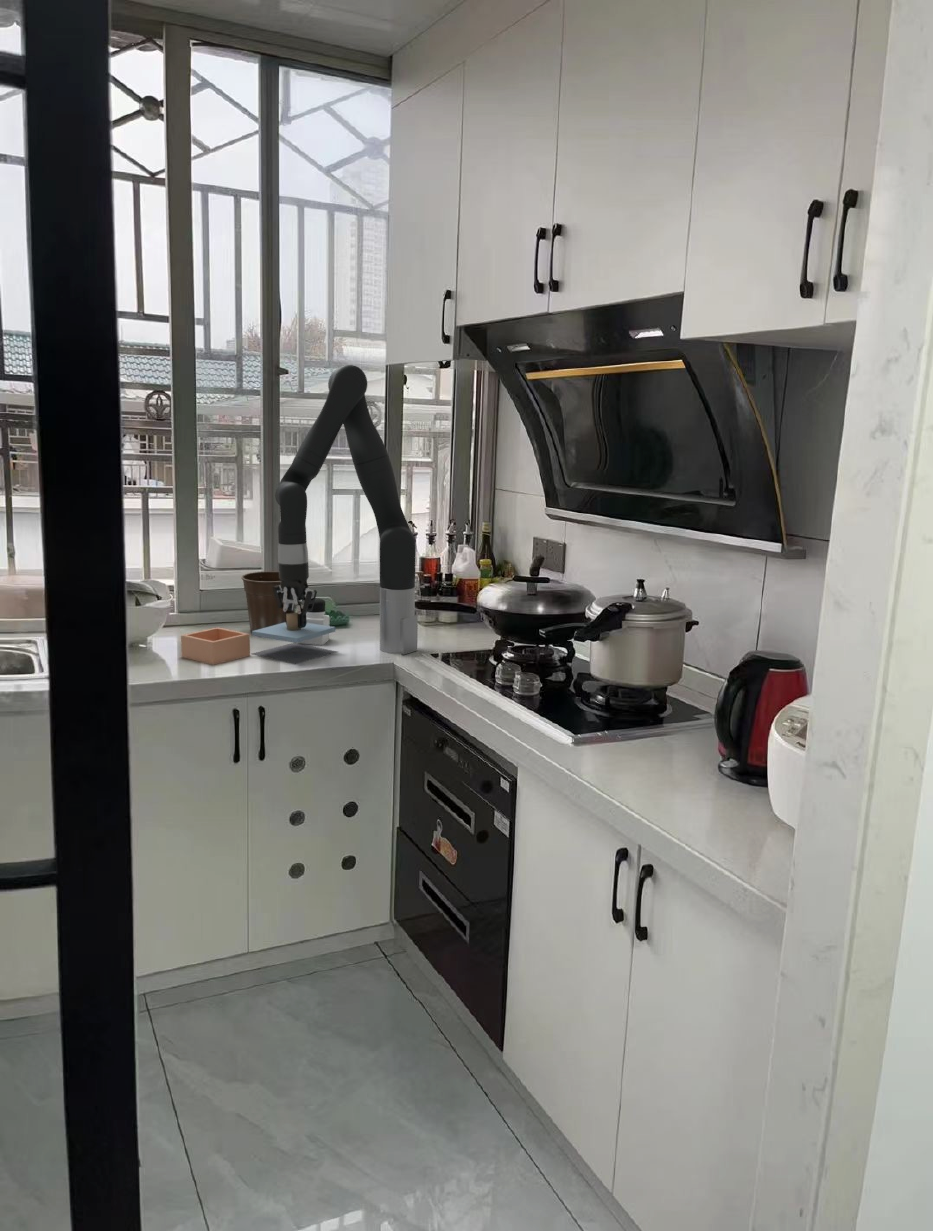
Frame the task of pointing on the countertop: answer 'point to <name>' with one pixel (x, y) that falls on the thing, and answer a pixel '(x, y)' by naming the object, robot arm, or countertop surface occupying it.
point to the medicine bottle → (317, 622)
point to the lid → (293, 630)
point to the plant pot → (263, 599)
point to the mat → (294, 653)
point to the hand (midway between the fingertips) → (295, 626)
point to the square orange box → (215, 645)
